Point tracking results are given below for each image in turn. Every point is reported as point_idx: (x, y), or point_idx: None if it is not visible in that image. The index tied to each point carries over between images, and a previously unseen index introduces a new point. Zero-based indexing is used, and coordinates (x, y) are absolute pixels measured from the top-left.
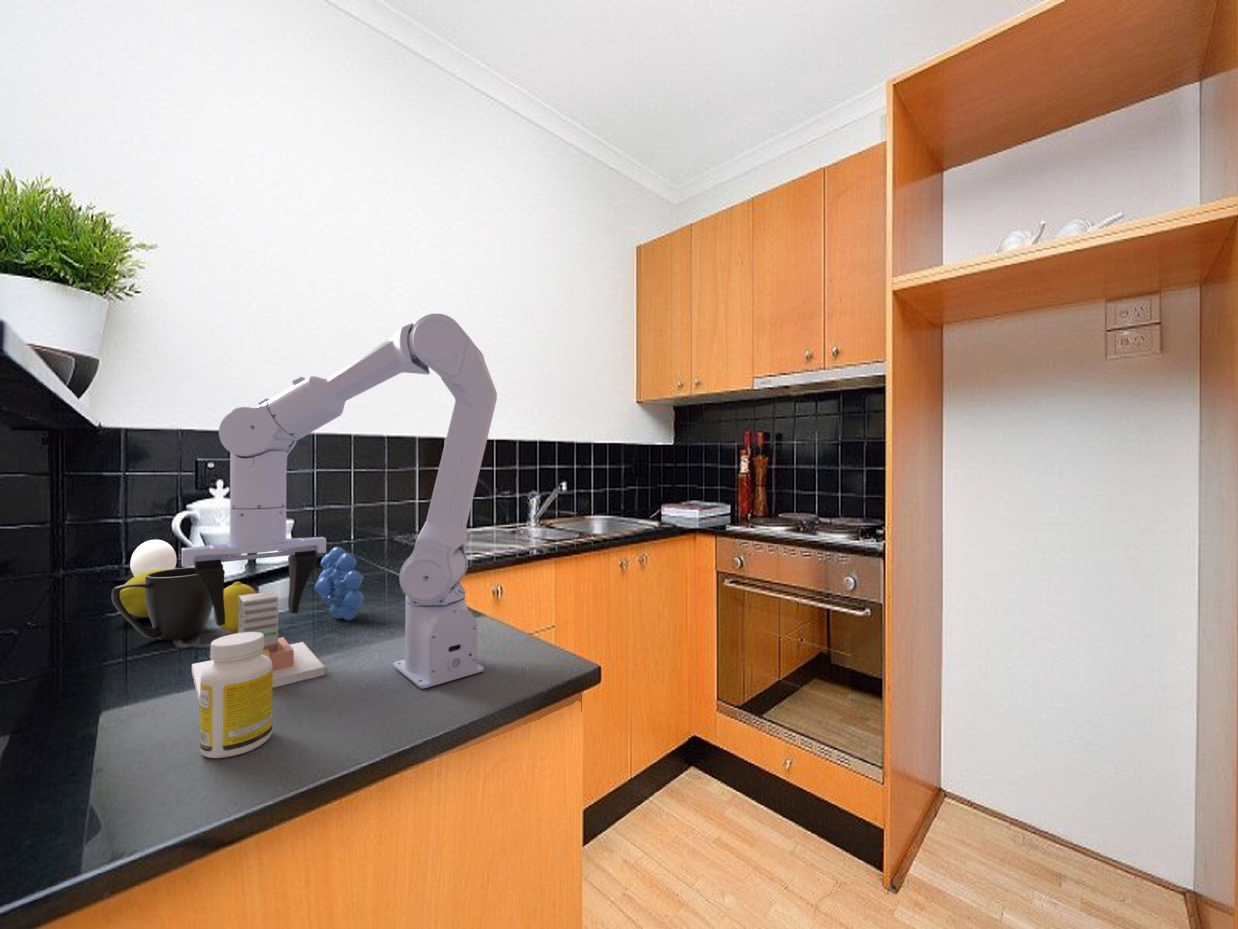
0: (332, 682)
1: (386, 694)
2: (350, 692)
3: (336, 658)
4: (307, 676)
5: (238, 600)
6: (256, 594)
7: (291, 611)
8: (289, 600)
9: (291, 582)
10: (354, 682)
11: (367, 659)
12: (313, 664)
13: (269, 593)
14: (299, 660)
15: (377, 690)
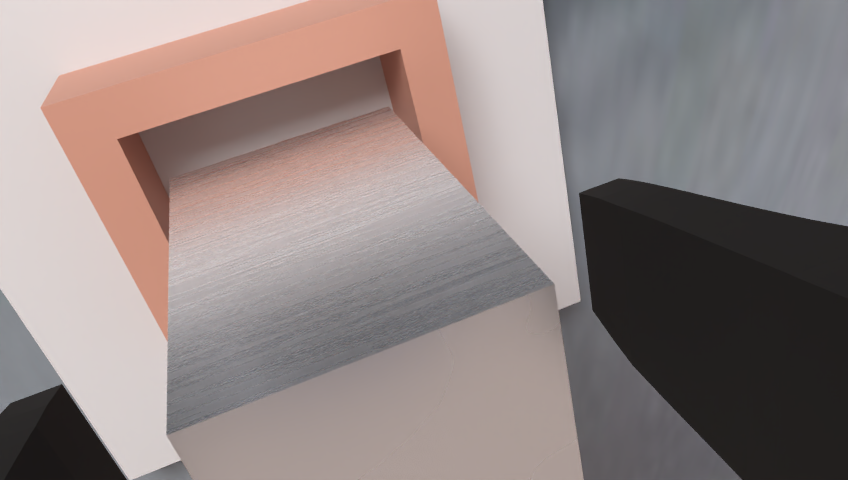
0: (577, 357)
1: (687, 475)
2: (611, 445)
3: (632, 77)
4: None
5: (168, 396)
6: (381, 404)
7: (597, 302)
8: (638, 253)
9: (799, 390)
10: (637, 376)
11: (733, 153)
12: (543, 258)
13: (517, 392)
14: (488, 176)
15: (676, 447)
